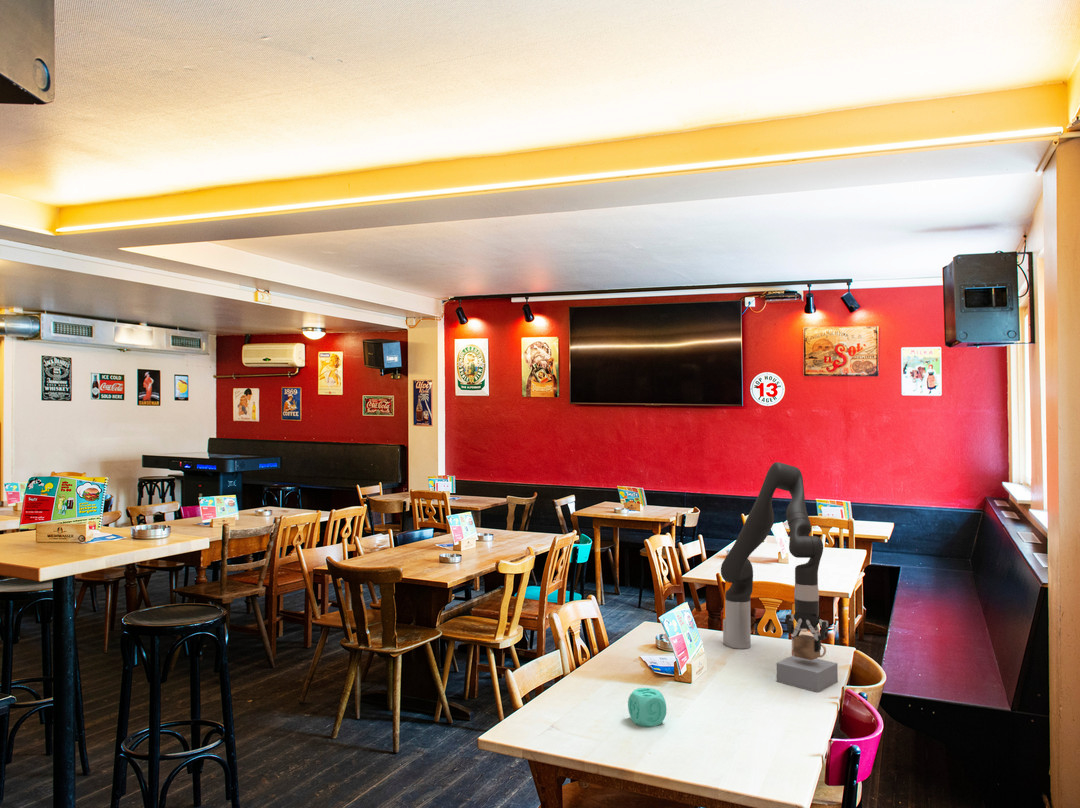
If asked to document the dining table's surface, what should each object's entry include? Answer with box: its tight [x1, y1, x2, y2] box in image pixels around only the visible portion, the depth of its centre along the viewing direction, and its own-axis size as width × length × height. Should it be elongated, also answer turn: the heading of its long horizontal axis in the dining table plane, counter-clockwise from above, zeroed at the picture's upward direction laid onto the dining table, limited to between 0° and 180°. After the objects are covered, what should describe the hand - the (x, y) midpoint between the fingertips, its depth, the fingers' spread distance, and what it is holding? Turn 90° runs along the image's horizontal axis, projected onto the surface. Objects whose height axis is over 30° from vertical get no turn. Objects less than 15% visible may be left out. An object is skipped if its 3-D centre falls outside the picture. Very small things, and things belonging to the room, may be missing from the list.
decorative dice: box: [627, 687, 668, 728], centre depth 206 cm, size 8×8×8 cm
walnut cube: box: [794, 634, 821, 660], centre depth 240 cm, size 6×6×6 cm
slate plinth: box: [775, 655, 839, 693], centre depth 240 cm, size 14×14×6 cm
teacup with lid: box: [790, 629, 827, 659], centre depth 260 cm, size 12×9×12 cm
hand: (807, 649), depth 240 cm, fingers closed on walnut cube, 6 cm apart
